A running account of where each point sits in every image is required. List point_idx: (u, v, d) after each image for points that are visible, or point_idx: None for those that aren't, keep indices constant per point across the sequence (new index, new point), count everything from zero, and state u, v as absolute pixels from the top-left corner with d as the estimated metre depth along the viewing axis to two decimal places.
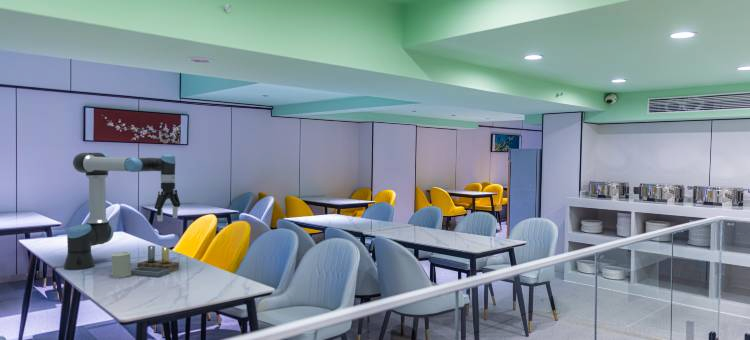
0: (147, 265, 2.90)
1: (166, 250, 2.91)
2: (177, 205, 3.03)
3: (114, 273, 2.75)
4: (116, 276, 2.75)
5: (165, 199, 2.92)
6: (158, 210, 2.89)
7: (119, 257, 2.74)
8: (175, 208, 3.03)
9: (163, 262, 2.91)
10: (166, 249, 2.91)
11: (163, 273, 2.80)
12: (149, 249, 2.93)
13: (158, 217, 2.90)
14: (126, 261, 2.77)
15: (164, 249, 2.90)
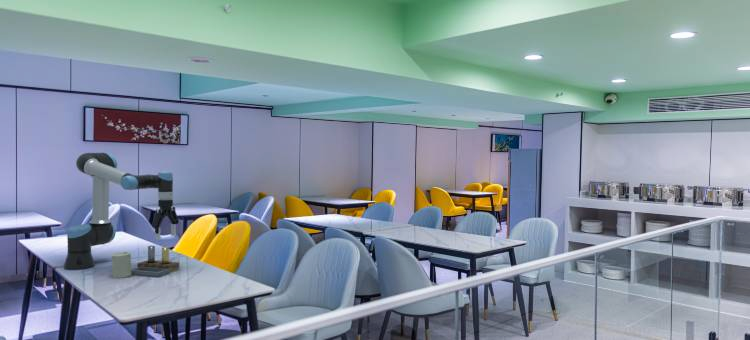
0: (147, 265, 2.90)
1: (166, 250, 2.91)
2: (175, 222, 2.98)
3: (115, 273, 2.75)
4: (117, 276, 2.74)
5: (163, 217, 2.87)
6: (156, 228, 2.83)
7: (120, 257, 2.74)
8: (173, 225, 2.98)
9: (163, 262, 2.91)
10: (166, 249, 2.91)
11: (163, 273, 2.80)
12: (149, 249, 2.93)
13: (156, 235, 2.85)
14: (127, 261, 2.77)
15: (164, 249, 2.90)
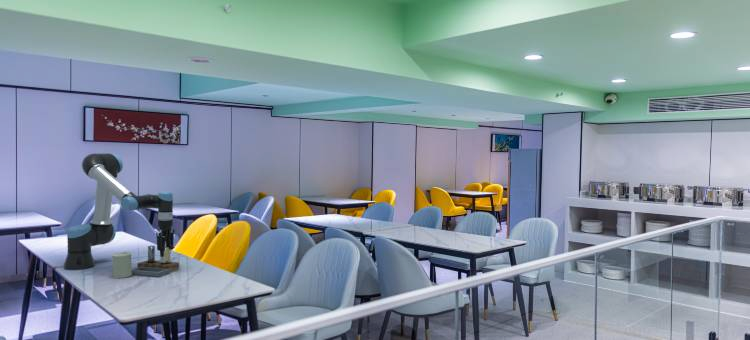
0: (147, 265, 2.90)
1: (166, 250, 2.91)
2: (170, 247, 2.94)
3: (116, 273, 2.74)
4: (118, 276, 2.74)
5: (165, 238, 2.90)
6: (161, 251, 2.88)
7: (122, 257, 2.74)
8: None
9: None
10: (166, 249, 2.91)
11: (163, 273, 2.80)
12: (149, 249, 2.93)
13: (161, 258, 2.90)
14: (129, 261, 2.77)
15: None
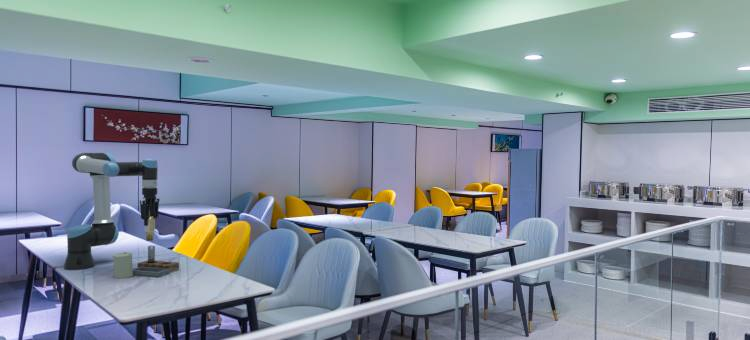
0: (147, 265, 2.90)
1: (150, 219, 2.81)
2: (155, 216, 2.85)
3: (118, 274, 2.73)
4: (121, 277, 2.74)
5: (149, 207, 2.80)
6: (145, 220, 2.79)
7: (124, 257, 2.74)
8: None
9: None
10: (150, 218, 2.81)
11: (163, 273, 2.80)
12: (149, 249, 2.93)
13: (145, 227, 2.80)
14: (130, 261, 2.77)
15: None
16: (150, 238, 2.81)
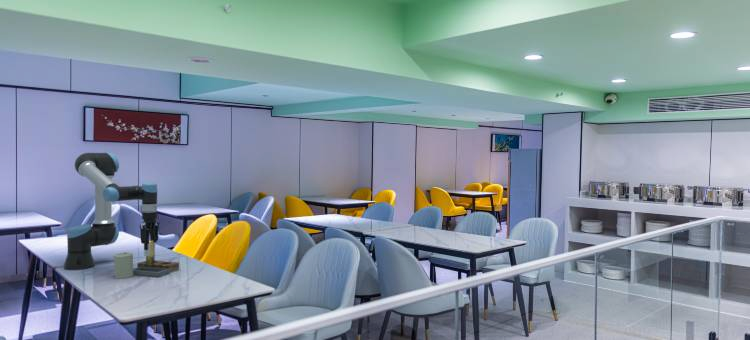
0: (147, 265, 2.90)
1: (150, 243, 2.81)
2: (155, 240, 2.85)
3: (120, 274, 2.73)
4: (122, 277, 2.73)
5: (149, 231, 2.80)
6: (145, 245, 2.79)
7: (126, 257, 2.74)
8: None
9: None
10: (150, 242, 2.81)
11: (163, 273, 2.80)
12: None
13: (145, 252, 2.81)
14: (132, 260, 2.77)
15: None
16: (150, 262, 2.82)
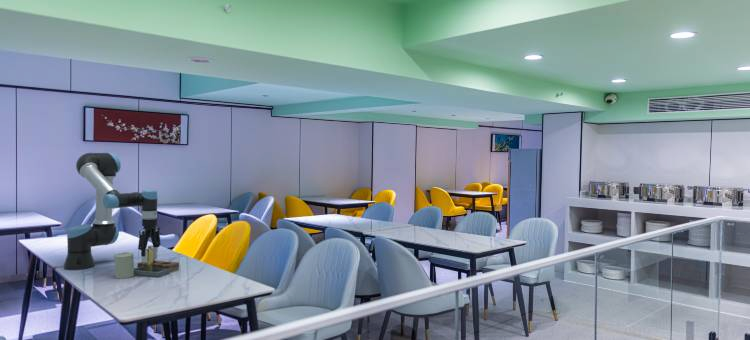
0: None
1: (150, 252, 2.82)
2: (157, 245, 2.87)
3: (121, 274, 2.73)
4: (124, 277, 2.73)
5: (148, 238, 2.80)
6: (142, 251, 2.77)
7: (128, 257, 2.74)
8: (155, 249, 2.86)
9: (147, 264, 2.82)
10: (150, 251, 2.82)
11: (163, 273, 2.80)
12: None
13: (142, 258, 2.79)
14: (133, 260, 2.78)
15: (148, 251, 2.81)
16: None
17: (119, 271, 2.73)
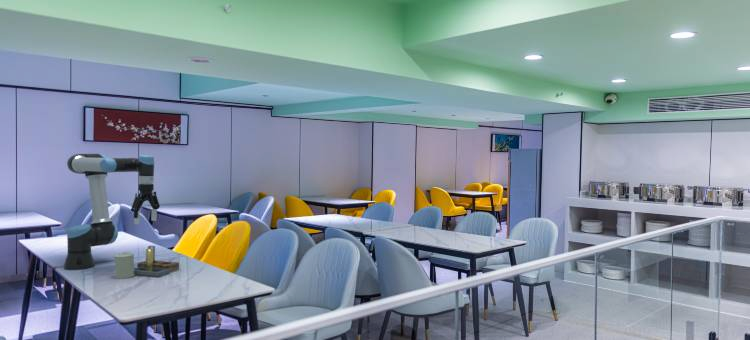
0: None
1: (150, 252, 2.82)
2: (156, 207, 2.93)
3: (122, 274, 2.73)
4: (124, 277, 2.74)
5: (142, 201, 2.82)
6: (135, 213, 2.79)
7: (128, 257, 2.74)
8: (154, 210, 2.93)
9: (147, 264, 2.82)
10: (150, 251, 2.82)
11: (163, 273, 2.80)
12: None
13: (135, 220, 2.80)
14: (133, 260, 2.78)
15: (148, 251, 2.81)
16: None
17: (119, 271, 2.73)
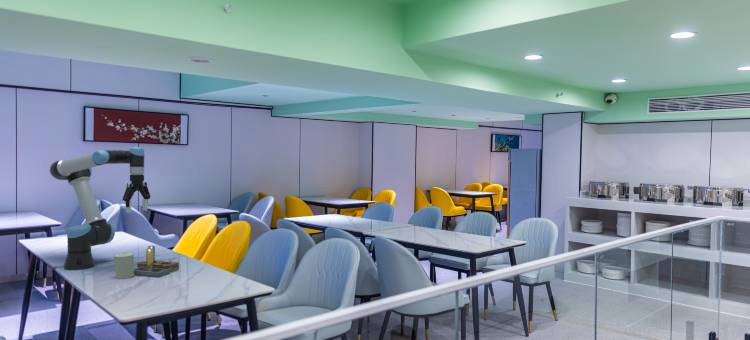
0: None
1: (150, 252, 2.82)
2: (147, 197, 3.05)
3: (122, 274, 2.73)
4: (124, 277, 2.74)
5: (134, 191, 2.94)
6: (126, 202, 2.90)
7: (128, 257, 2.74)
8: (145, 200, 3.05)
9: (147, 264, 2.82)
10: (150, 251, 2.82)
11: (163, 273, 2.80)
12: None
13: (127, 209, 2.92)
14: (133, 260, 2.78)
15: (148, 251, 2.81)
16: None
17: (119, 271, 2.73)
